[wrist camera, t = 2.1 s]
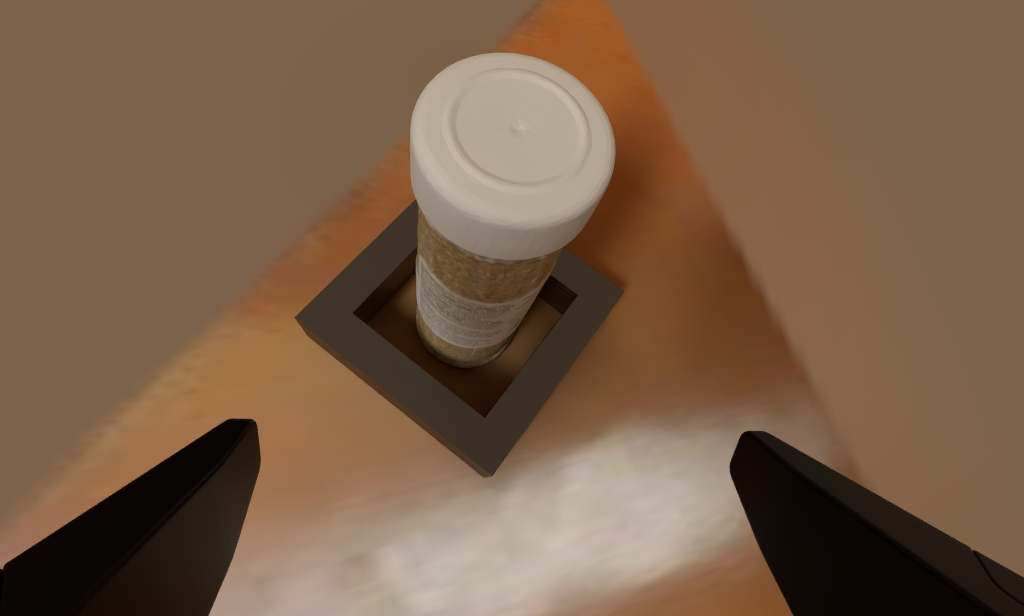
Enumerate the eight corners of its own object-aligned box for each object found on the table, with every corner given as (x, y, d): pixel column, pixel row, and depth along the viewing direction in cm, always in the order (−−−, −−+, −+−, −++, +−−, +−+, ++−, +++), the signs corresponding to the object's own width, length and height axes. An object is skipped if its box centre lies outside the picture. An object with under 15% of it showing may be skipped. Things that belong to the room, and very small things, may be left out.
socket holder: (484, 477, 21) (492, 476, 19) (307, 336, 22) (294, 317, 19) (604, 310, 25) (623, 291, 22) (449, 193, 25) (452, 163, 23)
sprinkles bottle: (460, 258, 24) (504, 10, 12) (533, 319, 24) (661, 129, 11) (392, 326, 22) (360, 122, 10) (470, 393, 22) (538, 265, 10)
